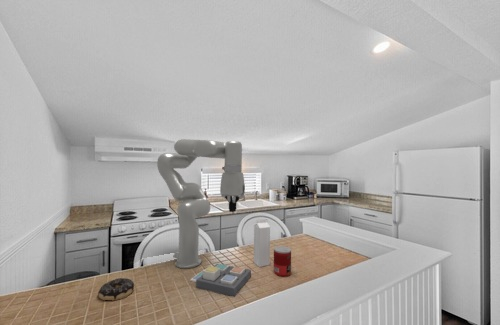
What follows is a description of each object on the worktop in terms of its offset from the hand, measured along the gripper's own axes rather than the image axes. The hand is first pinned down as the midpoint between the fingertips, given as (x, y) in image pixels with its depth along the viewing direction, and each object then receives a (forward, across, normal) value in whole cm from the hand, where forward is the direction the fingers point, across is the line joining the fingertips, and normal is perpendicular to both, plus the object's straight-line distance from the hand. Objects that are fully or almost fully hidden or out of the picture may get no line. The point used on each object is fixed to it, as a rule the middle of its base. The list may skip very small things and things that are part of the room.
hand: (232, 211), depth 99 cm
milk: (+29, +7, +20) cm, 36 cm away
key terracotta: (+28, +2, +1) cm, 29 cm away
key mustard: (+26, -6, -7) cm, 28 cm away
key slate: (+28, +3, -8) cm, 29 cm away
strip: (+29, -14, -3) cm, 32 cm away
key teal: (+28, -5, 0) cm, 29 cm away
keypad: (+29, -2, -4) cm, 29 cm away
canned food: (+29, +19, +14) cm, 38 cm away
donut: (+30, -35, -27) cm, 53 cm away
